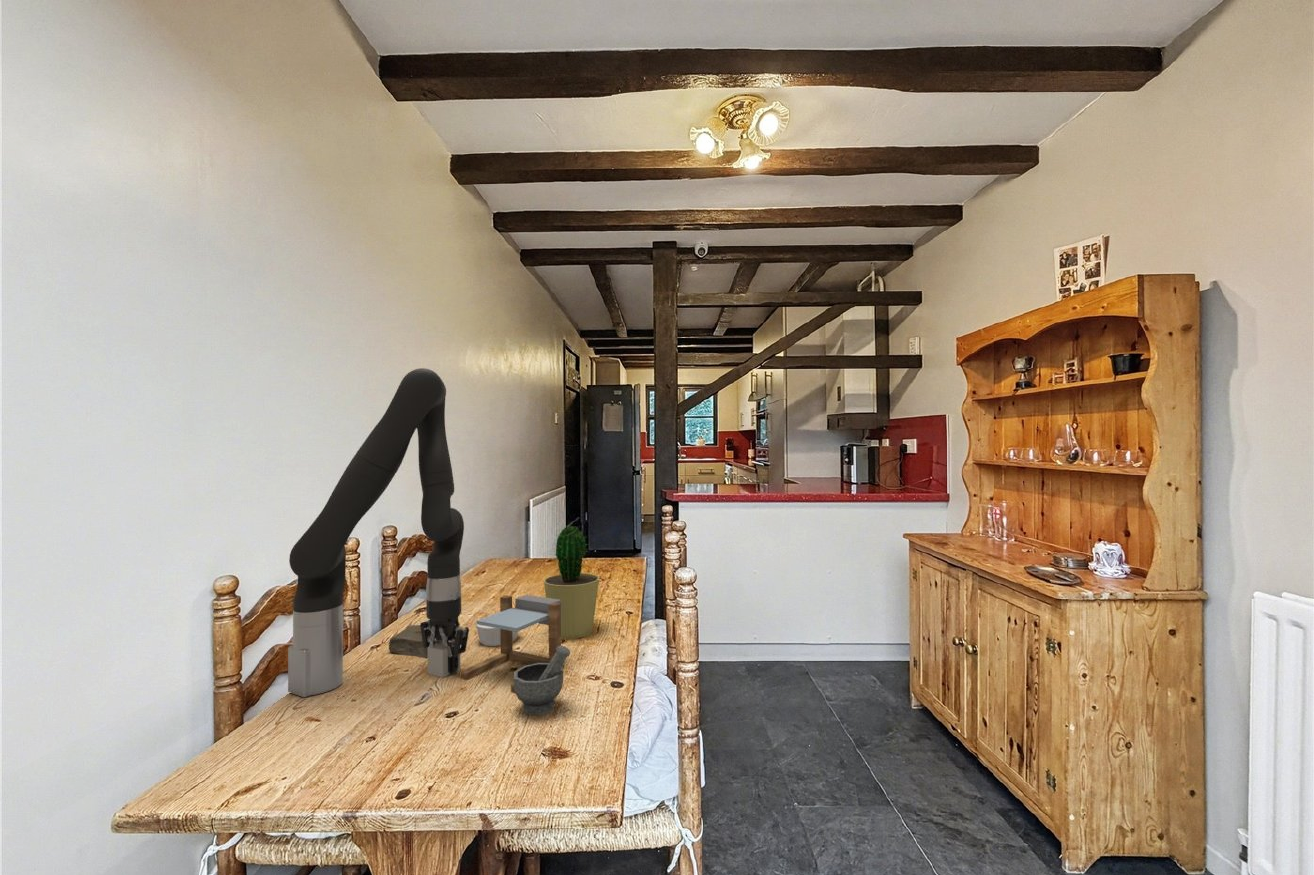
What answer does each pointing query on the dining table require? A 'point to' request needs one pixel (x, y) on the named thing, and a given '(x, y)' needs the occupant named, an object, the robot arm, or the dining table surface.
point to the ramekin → (491, 635)
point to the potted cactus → (573, 585)
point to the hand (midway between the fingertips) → (444, 669)
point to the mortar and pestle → (540, 683)
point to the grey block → (439, 660)
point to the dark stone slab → (409, 642)
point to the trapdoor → (521, 614)
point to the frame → (507, 643)
